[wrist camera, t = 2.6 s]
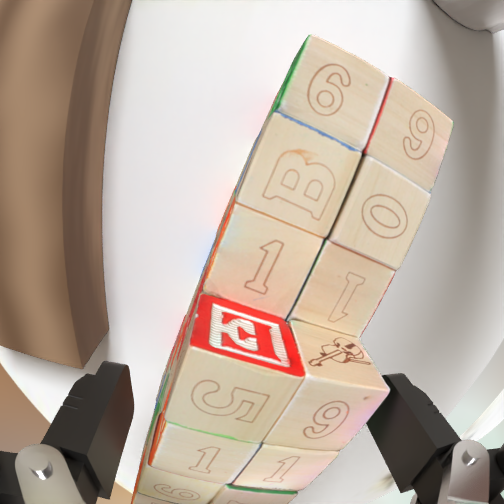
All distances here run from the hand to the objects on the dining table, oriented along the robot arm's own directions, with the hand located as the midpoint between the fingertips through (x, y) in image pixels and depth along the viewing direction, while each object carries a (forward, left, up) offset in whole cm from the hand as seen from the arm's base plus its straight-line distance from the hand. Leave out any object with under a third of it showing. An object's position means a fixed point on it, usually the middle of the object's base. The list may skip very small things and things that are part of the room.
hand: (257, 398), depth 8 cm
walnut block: (+15, -7, -11) cm, 20 cm away
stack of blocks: (-1, 0, -11) cm, 11 cm away
